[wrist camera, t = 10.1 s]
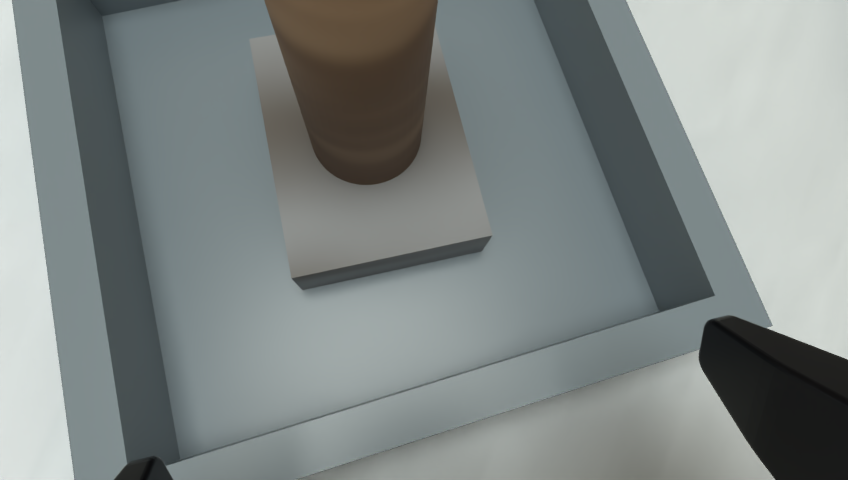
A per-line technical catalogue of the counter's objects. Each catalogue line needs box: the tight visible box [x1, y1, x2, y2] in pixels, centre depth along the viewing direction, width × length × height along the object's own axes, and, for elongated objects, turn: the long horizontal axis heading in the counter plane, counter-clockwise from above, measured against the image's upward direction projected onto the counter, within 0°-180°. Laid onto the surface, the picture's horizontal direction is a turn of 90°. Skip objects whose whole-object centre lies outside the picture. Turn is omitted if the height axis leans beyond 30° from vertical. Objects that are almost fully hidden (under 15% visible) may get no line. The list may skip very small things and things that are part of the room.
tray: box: [12, 0, 773, 480], centre depth 17 cm, size 18×18×4 cm
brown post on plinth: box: [249, 0, 493, 290], centre depth 11 cm, size 8×6×15 cm
